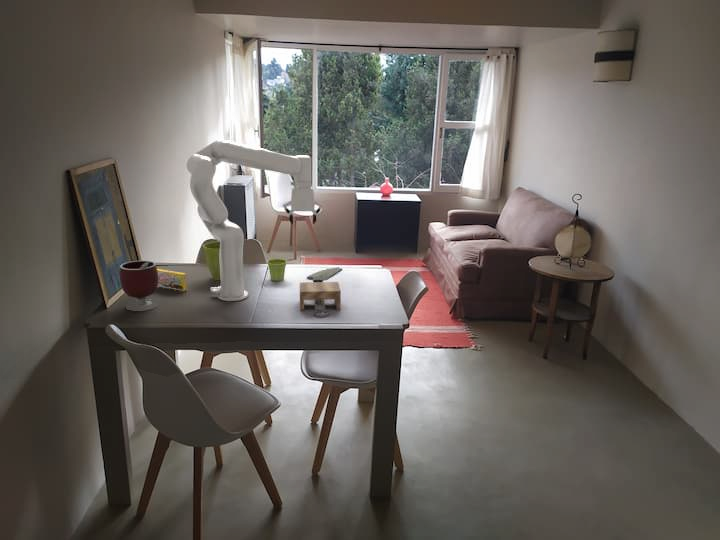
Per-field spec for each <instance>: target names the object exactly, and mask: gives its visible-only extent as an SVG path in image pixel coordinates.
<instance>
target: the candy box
mask: <svg viewBox="0 0 720 540" xmlns="http://www.w3.org/2000/svg"><path fill="white" fill-rule="evenodd" d="M157 271H158V285H161V286H165V287H171V288H176V289H180V290H186V289H187V280H186V273H185V272H180V271H179V272H178V271H175V270H174V271H173V270H172V271H171V270H168V269H167V270H166V269H161V268H157Z"/></svg>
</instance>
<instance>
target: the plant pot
mask: <svg viewBox="0 0 720 540" xmlns="http://www.w3.org/2000/svg"><path fill="white" fill-rule="evenodd" d="M266 263H267V265H268V270H269V275H270V276H269V277H270V280H271V281H275V282H276V281H280V280H281V281H284V279H285V273H286V266H287V263H288V260H286V259H284V258H272V259H267V260H266Z"/></svg>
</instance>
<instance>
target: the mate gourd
mask: <svg viewBox="0 0 720 540" xmlns="http://www.w3.org/2000/svg"><path fill="white" fill-rule="evenodd" d="M157 269H158V268H157V264H156V262H155V261H152V260H134V261H127V262H124V263H122V264H120V270H119V283H120V285H121V289H122V290H123V292H124V294H126V295H127V296H128V297H130V298H134V299H135V298H136V301H137V304H138V305H140V306H142V305H144V306H148V305H151V304H152V302H151V301H147V300H146V299H147V297H149V296H152V295H153V294H154V293H155V291H156V290H157V289H158V287H157V286H158V271H157ZM144 306H142V307H144Z"/></svg>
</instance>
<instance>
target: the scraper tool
mask: <svg viewBox="0 0 720 540" xmlns="http://www.w3.org/2000/svg"><path fill="white" fill-rule="evenodd" d="M312 282H324V281H323V279H322V277H313V280H312ZM313 303H314V304H313V305H314V310H326V301H325V300H313Z"/></svg>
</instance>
